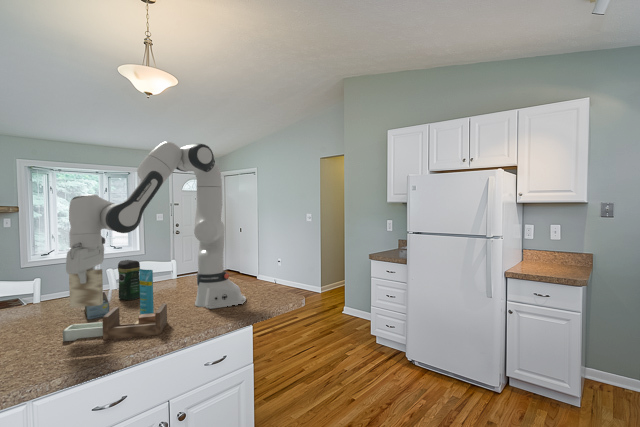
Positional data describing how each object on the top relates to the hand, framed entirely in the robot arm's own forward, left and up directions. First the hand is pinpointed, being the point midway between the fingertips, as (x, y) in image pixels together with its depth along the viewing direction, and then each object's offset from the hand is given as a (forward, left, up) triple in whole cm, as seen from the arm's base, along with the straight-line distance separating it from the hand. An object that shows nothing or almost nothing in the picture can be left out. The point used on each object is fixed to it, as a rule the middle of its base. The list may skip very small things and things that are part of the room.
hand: (86, 281), depth 113 cm
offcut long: (-18, -2, -18) cm, 26 cm away
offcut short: (-19, -2, -16) cm, 25 cm away
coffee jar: (0, -47, -19) cm, 51 cm away
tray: (0, 0, -19) cm, 19 cm away
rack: (-16, +1, -19) cm, 24 cm away
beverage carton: (+8, -29, -19) cm, 36 cm away
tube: (-15, -16, -19) cm, 29 cm away
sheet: (0, 0, -8) cm, 8 cm away
